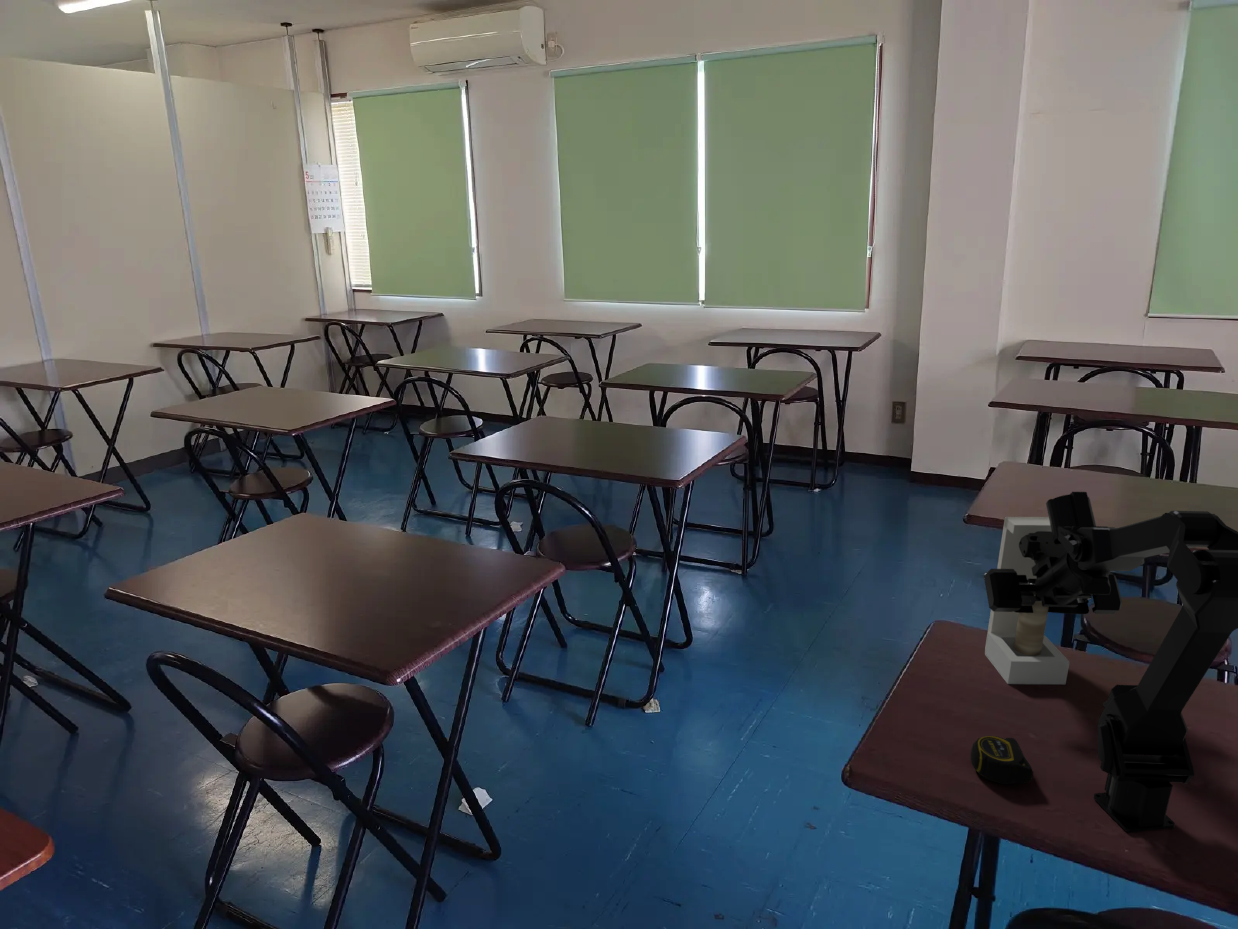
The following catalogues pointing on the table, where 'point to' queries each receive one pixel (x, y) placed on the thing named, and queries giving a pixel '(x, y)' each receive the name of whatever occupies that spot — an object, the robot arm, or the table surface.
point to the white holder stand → (1004, 624)
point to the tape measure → (1000, 760)
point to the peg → (1031, 630)
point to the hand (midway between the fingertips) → (1029, 608)
